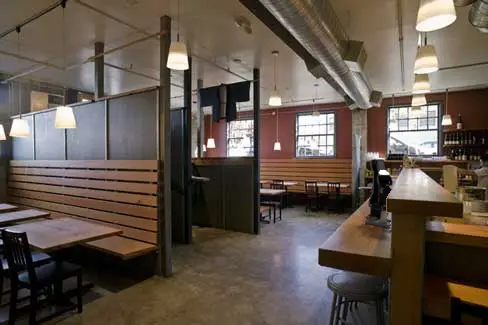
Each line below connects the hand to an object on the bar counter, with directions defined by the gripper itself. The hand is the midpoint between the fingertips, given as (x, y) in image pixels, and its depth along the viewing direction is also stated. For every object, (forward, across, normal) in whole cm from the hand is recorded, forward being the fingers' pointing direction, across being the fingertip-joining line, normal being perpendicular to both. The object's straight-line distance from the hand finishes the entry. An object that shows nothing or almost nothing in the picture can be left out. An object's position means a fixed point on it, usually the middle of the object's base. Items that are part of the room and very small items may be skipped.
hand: (382, 218), depth 197 cm
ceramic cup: (+3, 0, 0) cm, 3 cm away
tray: (+4, 0, 0) cm, 4 cm away
